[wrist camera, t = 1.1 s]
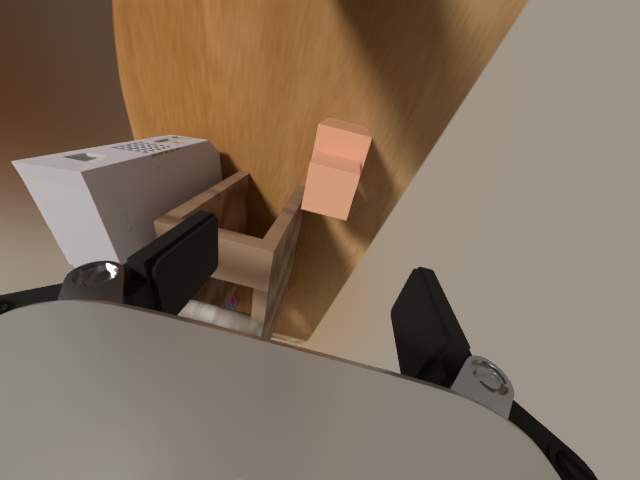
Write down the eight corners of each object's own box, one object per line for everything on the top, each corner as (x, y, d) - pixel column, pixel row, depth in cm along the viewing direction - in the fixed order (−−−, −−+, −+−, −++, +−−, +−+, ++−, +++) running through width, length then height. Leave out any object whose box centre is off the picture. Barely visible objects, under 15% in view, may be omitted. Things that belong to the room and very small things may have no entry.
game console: (206, 274, 48) (126, 367, 31) (180, 132, 34) (7, 160, 17) (233, 279, 48) (167, 375, 31) (218, 137, 34) (80, 171, 17)
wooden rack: (239, 170, 36) (147, 224, 20) (308, 188, 36) (270, 256, 20) (236, 276, 47) (175, 364, 31) (288, 289, 47) (254, 384, 31)
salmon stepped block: (330, 117, 31) (309, 128, 17) (366, 126, 31) (376, 146, 17) (316, 179, 35) (291, 229, 21) (348, 187, 35) (344, 243, 21)
